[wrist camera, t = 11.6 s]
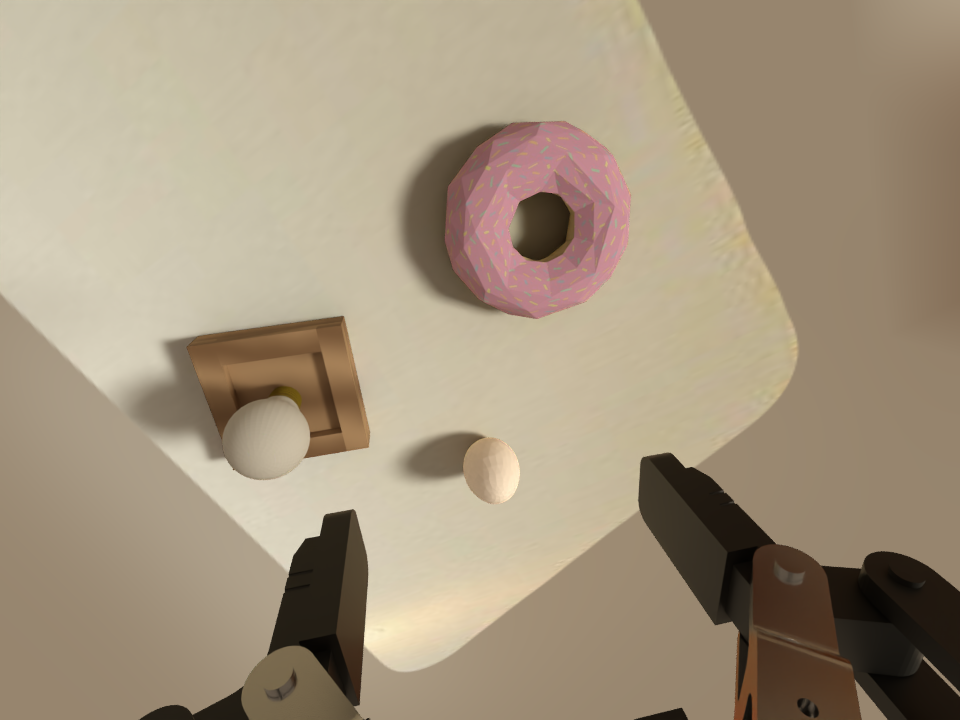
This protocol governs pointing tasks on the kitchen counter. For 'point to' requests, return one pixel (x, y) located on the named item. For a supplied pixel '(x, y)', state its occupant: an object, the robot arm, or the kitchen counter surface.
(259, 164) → the kitchen counter surface
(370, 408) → the kitchen counter surface
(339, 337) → the base
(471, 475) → the egg
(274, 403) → the light bulb
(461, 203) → the donut
